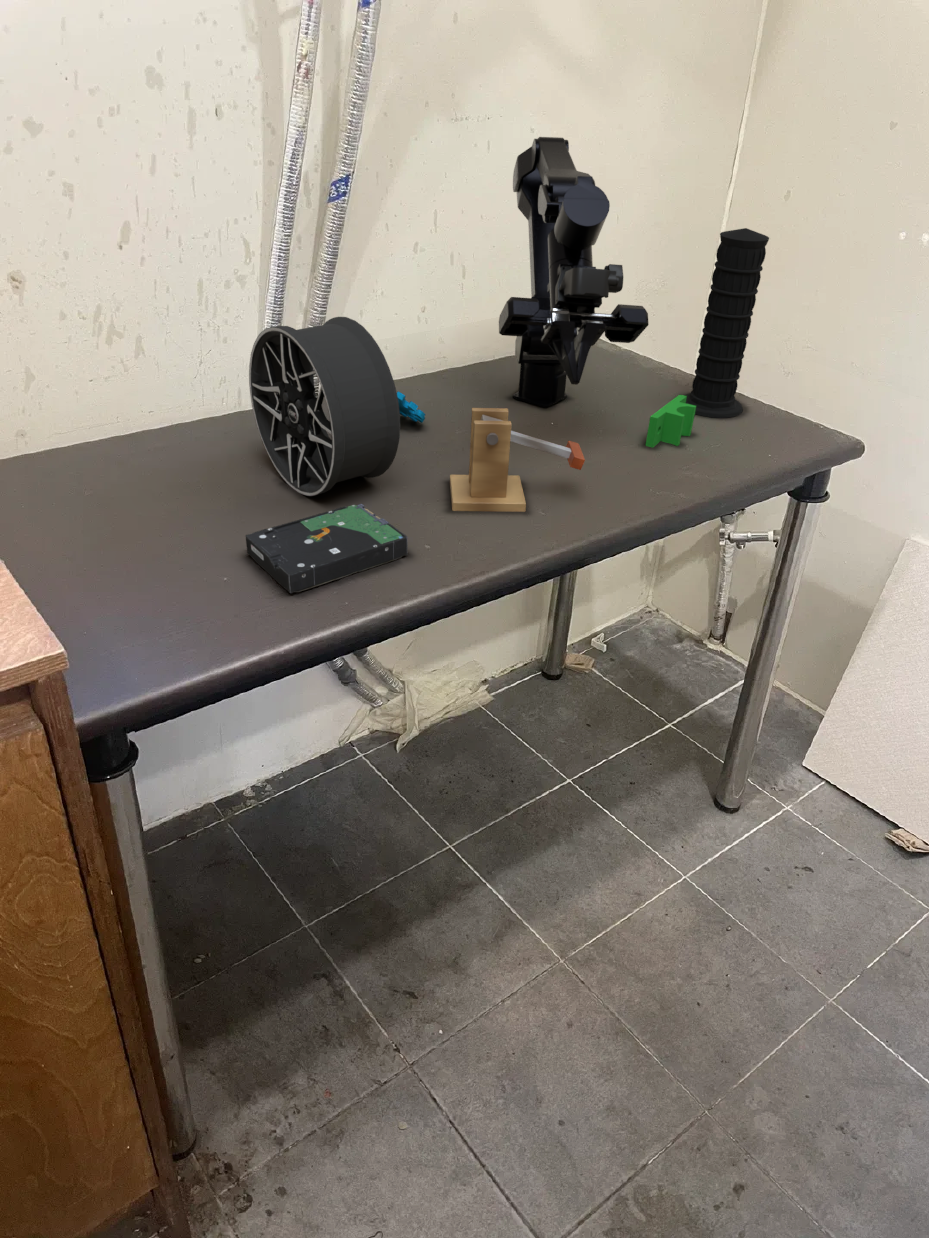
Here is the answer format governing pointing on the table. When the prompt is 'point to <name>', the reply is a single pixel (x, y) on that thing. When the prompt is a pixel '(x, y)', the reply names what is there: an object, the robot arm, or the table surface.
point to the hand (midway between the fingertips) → (575, 383)
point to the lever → (548, 446)
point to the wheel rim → (351, 393)
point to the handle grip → (727, 323)
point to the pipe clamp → (671, 422)
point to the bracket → (488, 468)
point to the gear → (409, 409)
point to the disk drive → (325, 547)
